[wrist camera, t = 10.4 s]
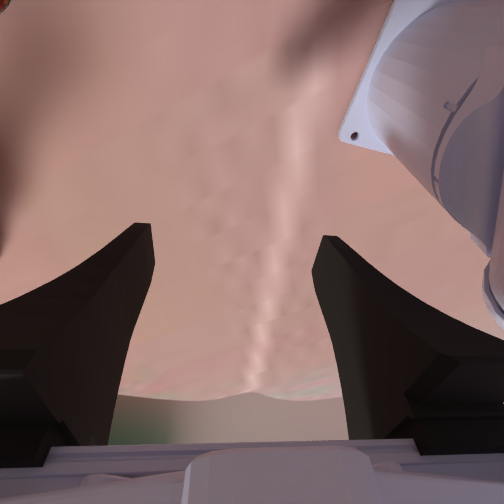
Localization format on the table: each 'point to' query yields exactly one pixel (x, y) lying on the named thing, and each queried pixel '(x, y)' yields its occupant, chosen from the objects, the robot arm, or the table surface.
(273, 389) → the table surface
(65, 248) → the table surface
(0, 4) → the deodorant
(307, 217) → the table surface
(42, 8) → the table surface
